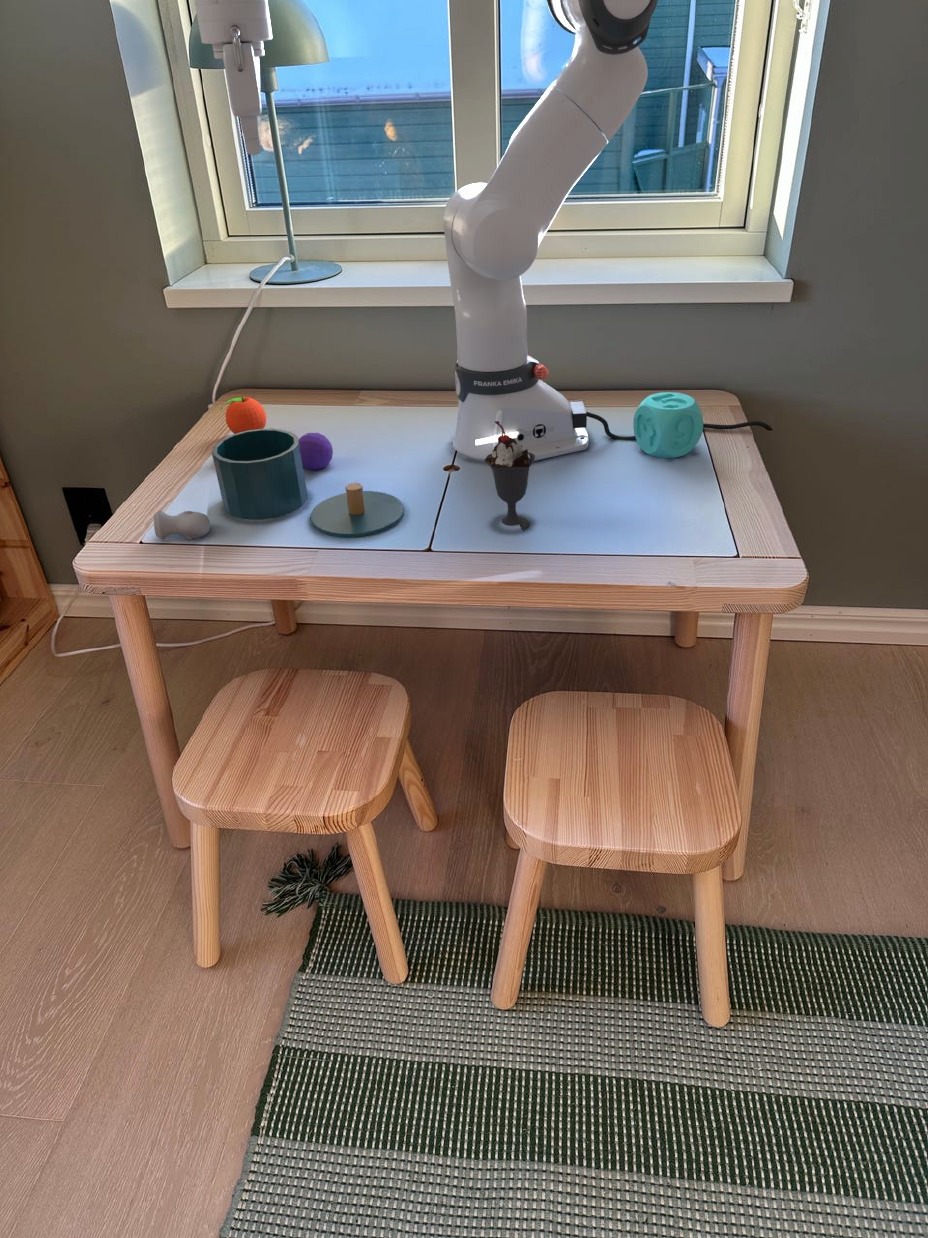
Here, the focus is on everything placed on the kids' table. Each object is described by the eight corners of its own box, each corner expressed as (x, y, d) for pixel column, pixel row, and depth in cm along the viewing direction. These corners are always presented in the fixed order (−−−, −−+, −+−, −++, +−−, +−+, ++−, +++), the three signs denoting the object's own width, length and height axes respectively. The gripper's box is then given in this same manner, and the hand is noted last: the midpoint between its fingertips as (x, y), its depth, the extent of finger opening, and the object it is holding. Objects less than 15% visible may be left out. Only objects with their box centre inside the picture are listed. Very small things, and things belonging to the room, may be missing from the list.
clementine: (217, 444, 159) (209, 404, 155) (232, 428, 165) (224, 390, 161) (261, 444, 158) (254, 405, 154) (274, 429, 163) (268, 390, 159)
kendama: (229, 429, 154) (336, 429, 147) (235, 464, 156) (340, 465, 149) (209, 436, 148) (319, 436, 142) (215, 472, 151) (324, 474, 144)
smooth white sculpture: (217, 536, 133) (204, 543, 128) (164, 535, 134) (149, 541, 129) (215, 506, 132) (202, 512, 127) (162, 505, 133) (146, 511, 128)
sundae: (488, 514, 132) (484, 414, 124) (534, 512, 132) (533, 413, 123) (487, 536, 127) (483, 434, 118) (536, 534, 126) (535, 432, 118)
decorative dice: (672, 434, 152) (676, 388, 148) (701, 451, 146) (706, 403, 142) (631, 444, 150) (633, 397, 145) (658, 462, 144) (662, 413, 139)
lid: (397, 493, 139) (394, 461, 136) (410, 533, 128) (407, 500, 125) (309, 504, 138) (304, 473, 135) (314, 547, 127) (309, 513, 124)
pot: (305, 481, 145) (296, 424, 139) (310, 516, 134) (300, 456, 129) (225, 491, 143) (213, 434, 138) (224, 528, 133) (210, 467, 127)
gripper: (261, 24, 106) (279, 157, 114) (259, 23, 123) (276, 139, 131) (205, 27, 105) (228, 161, 113) (212, 25, 122) (231, 142, 130)
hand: (254, 149), depth 122 cm, fingers open, 8 cm apart
